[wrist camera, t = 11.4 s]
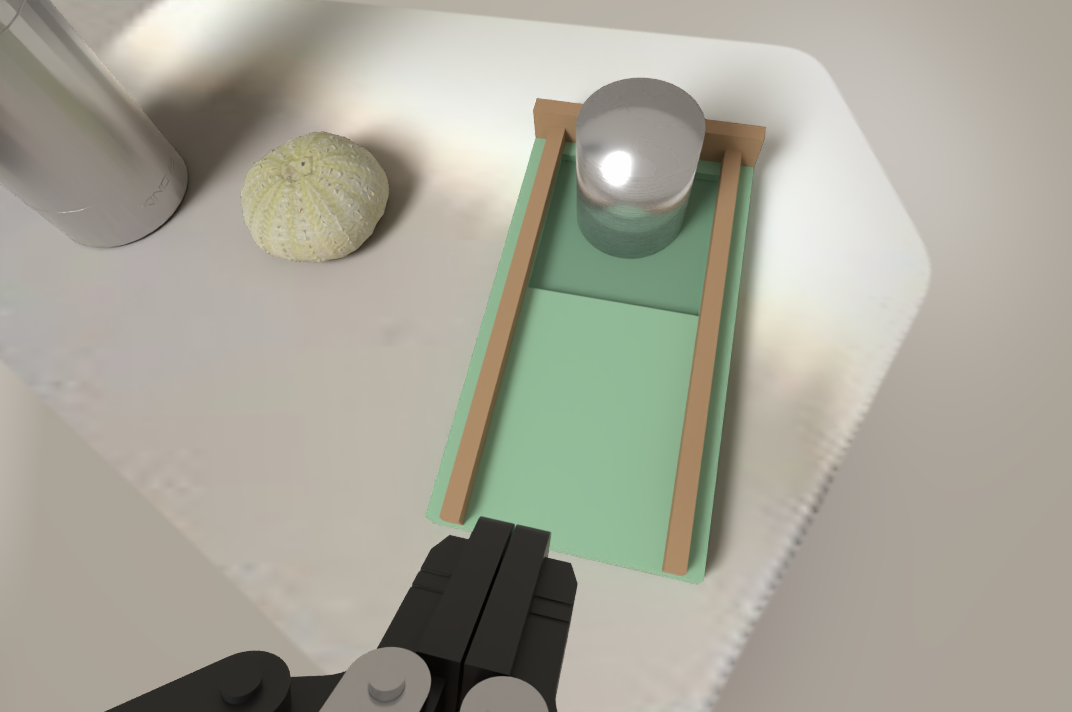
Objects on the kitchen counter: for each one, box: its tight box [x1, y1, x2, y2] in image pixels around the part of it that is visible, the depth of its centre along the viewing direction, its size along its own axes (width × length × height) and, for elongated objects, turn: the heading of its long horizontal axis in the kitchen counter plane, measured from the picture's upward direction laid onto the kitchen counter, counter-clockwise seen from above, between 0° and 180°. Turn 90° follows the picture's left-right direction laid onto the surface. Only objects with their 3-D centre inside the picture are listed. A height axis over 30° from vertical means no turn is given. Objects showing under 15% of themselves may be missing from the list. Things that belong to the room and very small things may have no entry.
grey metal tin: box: [576, 78, 706, 259], centre depth 36 cm, size 7×7×8 cm
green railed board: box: [425, 98, 766, 584], centre depth 36 cm, size 14×26×4 cm, turn 167°
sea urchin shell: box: [241, 131, 389, 263], centre depth 41 cm, size 9×8×8 cm
